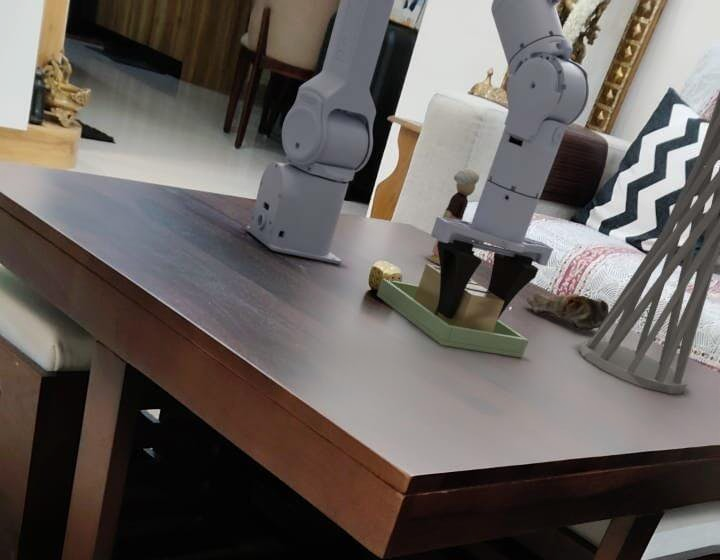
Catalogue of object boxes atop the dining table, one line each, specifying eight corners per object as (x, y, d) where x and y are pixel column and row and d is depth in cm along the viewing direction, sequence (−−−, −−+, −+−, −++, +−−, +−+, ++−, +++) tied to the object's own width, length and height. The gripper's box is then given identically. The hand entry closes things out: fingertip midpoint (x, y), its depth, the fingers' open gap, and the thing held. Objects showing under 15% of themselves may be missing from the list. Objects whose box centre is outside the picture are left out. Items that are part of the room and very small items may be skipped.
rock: (607, 335, 134) (552, 292, 137) (628, 297, 130) (571, 255, 133) (572, 352, 129) (516, 307, 132) (593, 314, 125) (534, 269, 127)
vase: (571, 337, 125) (703, 27, 107) (667, 369, 127) (813, 70, 109) (590, 369, 114) (741, 28, 96) (695, 404, 116) (863, 76, 98)
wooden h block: (432, 318, 109) (447, 276, 106) (412, 303, 112) (426, 262, 109) (464, 324, 111) (479, 283, 109) (444, 309, 114) (458, 269, 112)
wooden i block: (456, 336, 105) (472, 293, 103) (435, 320, 108) (449, 278, 106) (489, 341, 108) (505, 300, 106) (467, 325, 111) (482, 285, 109)
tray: (441, 345, 102) (447, 326, 101) (376, 295, 112) (381, 277, 111) (521, 357, 108) (529, 340, 107) (454, 309, 118) (459, 293, 117)
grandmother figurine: (449, 270, 138) (482, 174, 131) (423, 260, 138) (455, 164, 131) (455, 262, 144) (487, 171, 138) (430, 252, 144) (461, 161, 138)
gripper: (479, 184, 94) (431, 323, 101) (587, 215, 102) (536, 341, 109) (441, 164, 99) (397, 298, 106) (547, 194, 107) (500, 317, 113)
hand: (465, 318), depth 108 cm, fingers open, 5 cm apart
